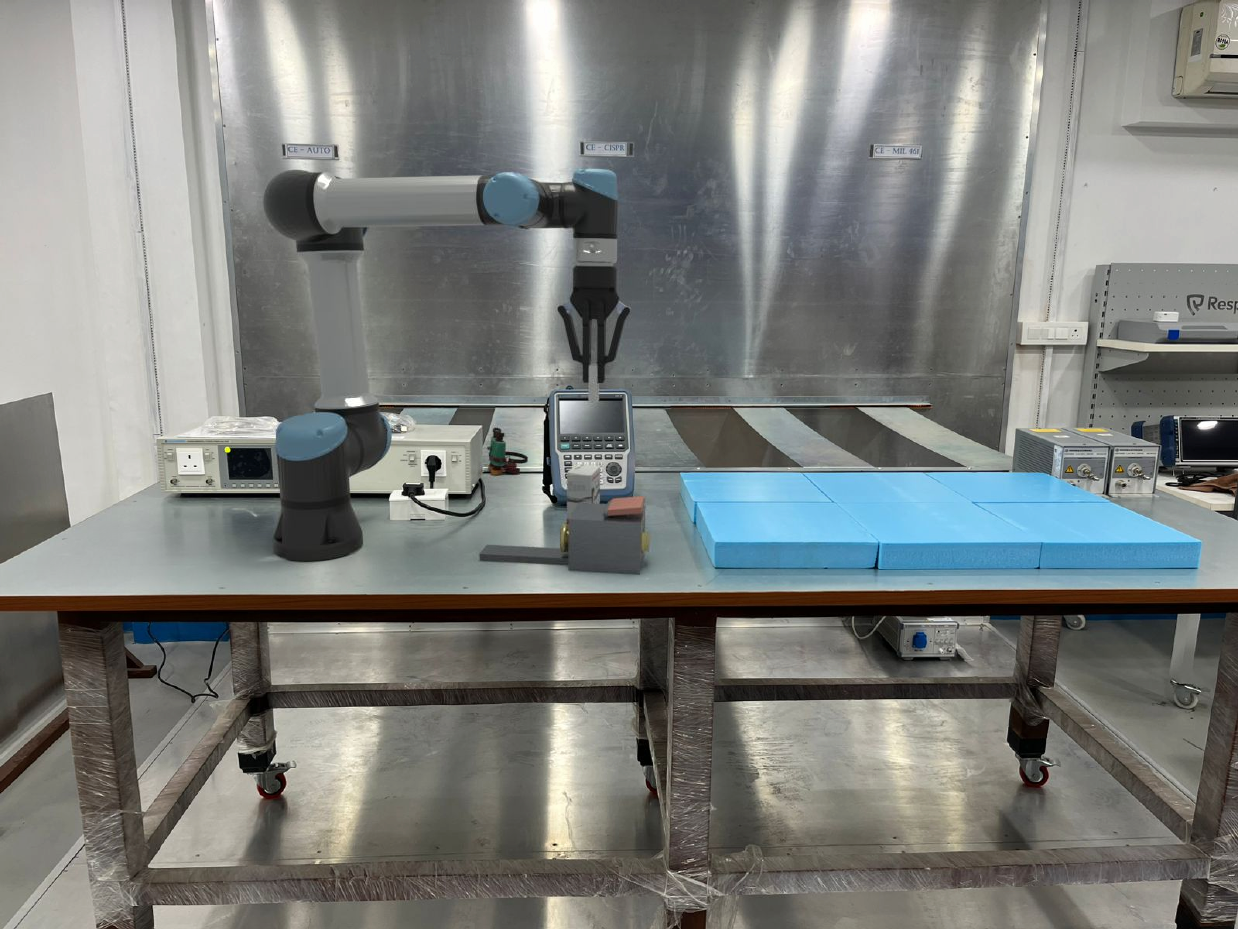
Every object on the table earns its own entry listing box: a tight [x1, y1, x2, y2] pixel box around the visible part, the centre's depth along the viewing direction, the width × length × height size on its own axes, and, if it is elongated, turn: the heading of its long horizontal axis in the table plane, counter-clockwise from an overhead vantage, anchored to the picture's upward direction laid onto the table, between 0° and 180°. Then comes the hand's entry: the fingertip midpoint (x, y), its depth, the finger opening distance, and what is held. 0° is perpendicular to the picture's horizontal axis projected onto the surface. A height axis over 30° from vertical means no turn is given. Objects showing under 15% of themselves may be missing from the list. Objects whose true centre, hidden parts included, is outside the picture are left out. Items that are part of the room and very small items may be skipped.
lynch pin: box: [559, 523, 651, 552], centre depth 145 cm, size 15×5×5 cm, turn 84°
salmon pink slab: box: [603, 495, 646, 518], centre depth 143 cm, size 1×7×6 cm
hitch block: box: [478, 503, 646, 575], centre depth 145 cm, size 28×10×9 cm, turn 84°
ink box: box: [566, 463, 601, 524], centre depth 163 cm, size 9×5×12 cm, turn 168°
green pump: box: [486, 427, 529, 476], centre depth 206 cm, size 9×11×10 cm
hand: (593, 401), depth 150 cm, fingers closed
